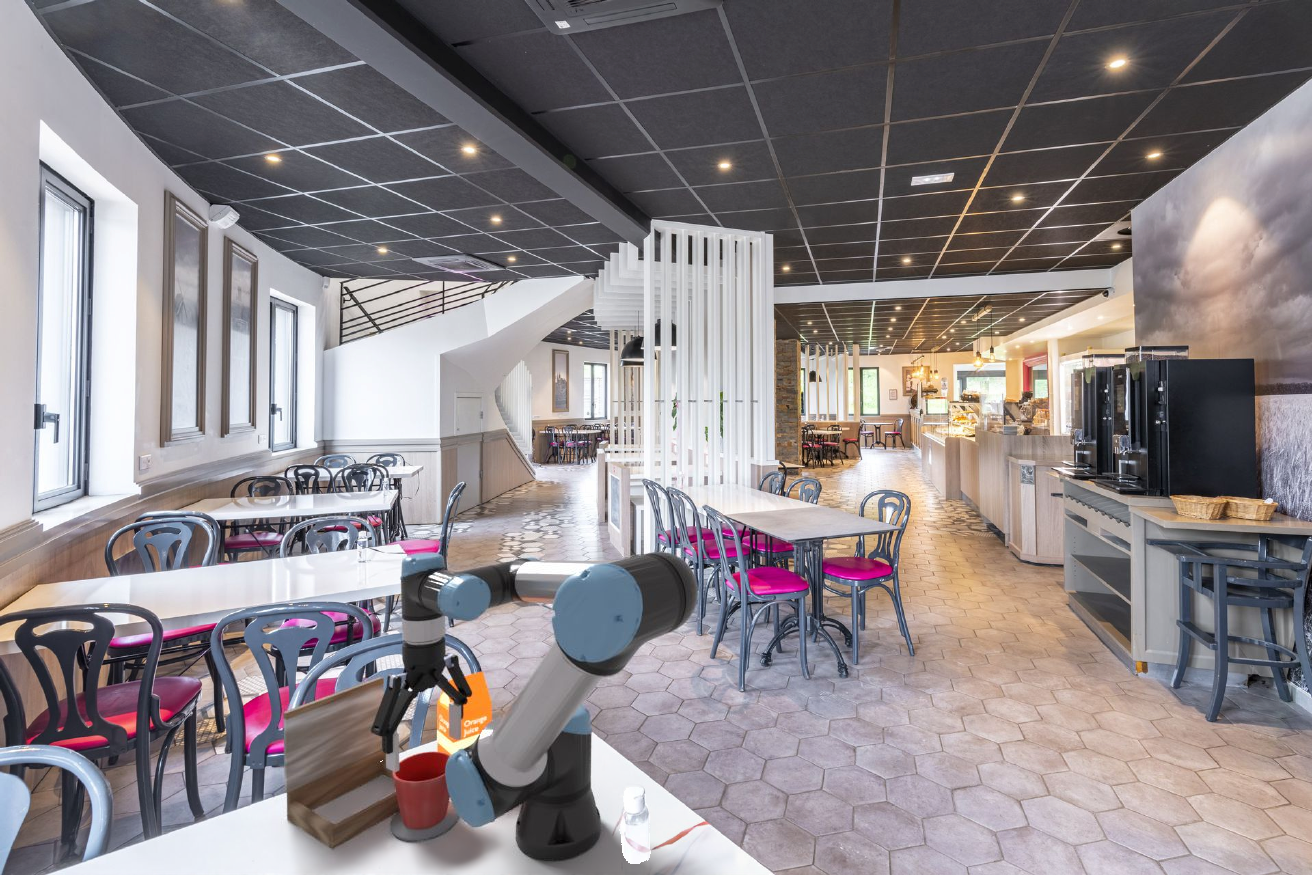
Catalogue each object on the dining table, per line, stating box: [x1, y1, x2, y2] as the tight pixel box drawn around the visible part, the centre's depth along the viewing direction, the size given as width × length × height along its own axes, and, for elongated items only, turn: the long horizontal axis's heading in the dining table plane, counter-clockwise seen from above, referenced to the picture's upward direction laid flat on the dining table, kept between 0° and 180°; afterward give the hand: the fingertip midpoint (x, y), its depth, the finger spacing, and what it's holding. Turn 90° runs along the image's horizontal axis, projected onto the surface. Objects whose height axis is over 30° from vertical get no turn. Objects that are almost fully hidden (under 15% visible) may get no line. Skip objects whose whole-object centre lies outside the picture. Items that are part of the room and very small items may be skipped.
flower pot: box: [393, 751, 451, 830], centre depth 120 cm, size 11×11×10 cm
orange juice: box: [436, 670, 493, 756], centre depth 138 cm, size 8×9×20 cm
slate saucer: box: [389, 800, 460, 843], centre depth 121 cm, size 12×12×1 cm
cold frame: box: [282, 676, 400, 850], centre depth 125 cm, size 17×20×20 cm
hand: (425, 752), depth 120 cm, fingers open, 13 cm apart
